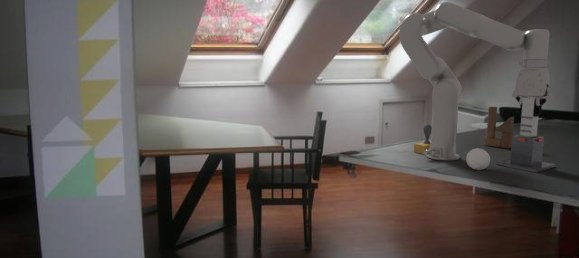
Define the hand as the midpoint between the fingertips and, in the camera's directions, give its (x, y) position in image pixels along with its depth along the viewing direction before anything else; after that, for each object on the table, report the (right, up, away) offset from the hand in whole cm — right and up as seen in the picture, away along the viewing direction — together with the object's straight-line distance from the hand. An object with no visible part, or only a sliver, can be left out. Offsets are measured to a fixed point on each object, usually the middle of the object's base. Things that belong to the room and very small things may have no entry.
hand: (530, 115), depth 152 cm
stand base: (0, -19, +3) cm, 19 cm away
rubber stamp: (-28, -15, +28) cm, 43 cm away
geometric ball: (-20, -20, -2) cm, 28 cm away
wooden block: (+8, -13, +39) cm, 42 cm away
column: (0, -11, +2) cm, 12 cm away
